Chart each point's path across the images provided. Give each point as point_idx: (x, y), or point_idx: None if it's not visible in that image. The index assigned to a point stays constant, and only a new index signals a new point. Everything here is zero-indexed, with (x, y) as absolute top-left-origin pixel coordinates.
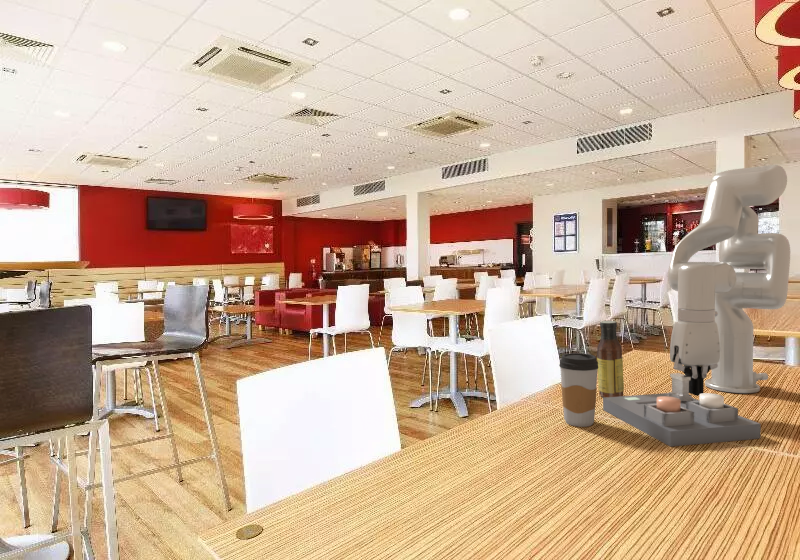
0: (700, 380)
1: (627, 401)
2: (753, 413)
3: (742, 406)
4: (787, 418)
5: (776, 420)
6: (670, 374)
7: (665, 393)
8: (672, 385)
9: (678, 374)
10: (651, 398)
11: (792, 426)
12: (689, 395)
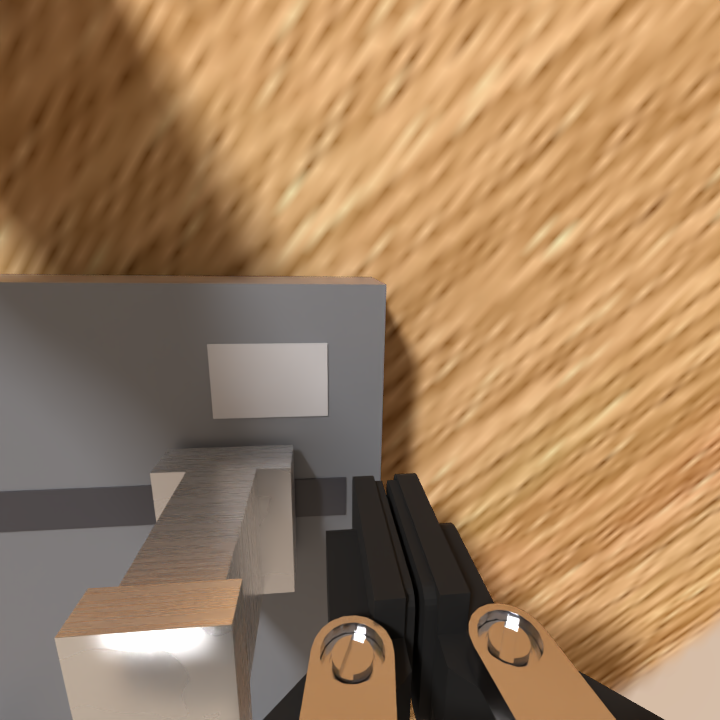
0: (414, 712)
1: None
2: (643, 526)
3: (712, 410)
4: (709, 609)
5: (636, 626)
6: (65, 629)
7: (241, 294)
8: (162, 522)
9: (163, 704)
10: (6, 415)
11: (618, 693)
12: (274, 589)
